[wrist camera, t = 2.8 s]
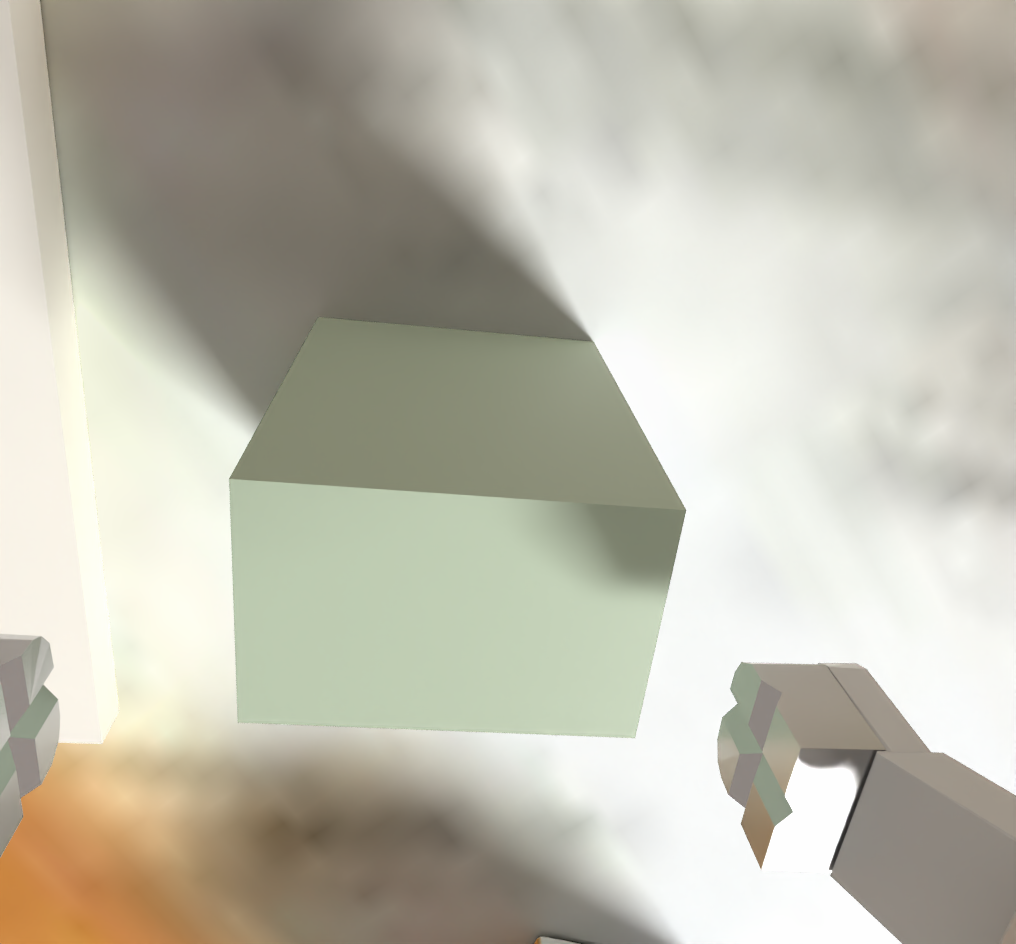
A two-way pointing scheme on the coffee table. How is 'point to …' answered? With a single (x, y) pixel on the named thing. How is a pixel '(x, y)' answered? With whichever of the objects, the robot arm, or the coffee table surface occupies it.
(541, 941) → the small box
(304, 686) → the sage green cuboid
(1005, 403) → the coffee table surface
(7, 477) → the slotted holder
